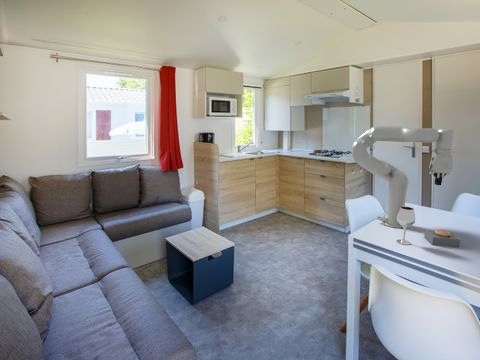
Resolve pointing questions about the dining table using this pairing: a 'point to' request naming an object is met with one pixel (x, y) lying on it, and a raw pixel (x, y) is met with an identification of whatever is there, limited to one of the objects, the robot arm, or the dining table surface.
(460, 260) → the dining table surface
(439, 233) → the button
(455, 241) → the button box
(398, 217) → the wineglass
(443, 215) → the dining table surface
